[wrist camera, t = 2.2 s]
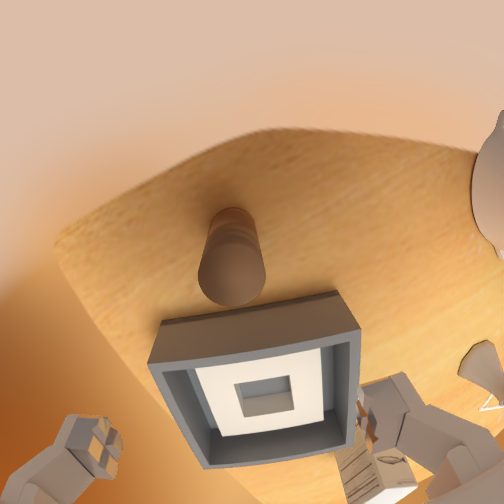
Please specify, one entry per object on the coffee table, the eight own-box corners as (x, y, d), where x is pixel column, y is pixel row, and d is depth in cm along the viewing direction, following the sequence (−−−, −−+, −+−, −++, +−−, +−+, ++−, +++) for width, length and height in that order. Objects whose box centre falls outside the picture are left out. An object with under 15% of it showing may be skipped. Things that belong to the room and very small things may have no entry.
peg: (251, 204, 27) (259, 239, 18) (258, 246, 29) (270, 300, 19) (206, 212, 27) (190, 252, 18) (215, 254, 29) (206, 311, 19)
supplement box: (393, 425, 40) (420, 486, 28) (364, 451, 42) (385, 510, 30) (359, 420, 39) (386, 489, 27) (330, 448, 41) (348, 513, 29)
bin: (337, 290, 31) (361, 328, 24) (339, 406, 37) (353, 445, 30) (162, 320, 31) (146, 364, 24) (206, 427, 37) (203, 469, 31)
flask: (472, 339, 35) (510, 381, 26) (498, 338, 36) (534, 375, 26) (450, 378, 37) (481, 422, 28) (478, 375, 38) (508, 413, 29)
